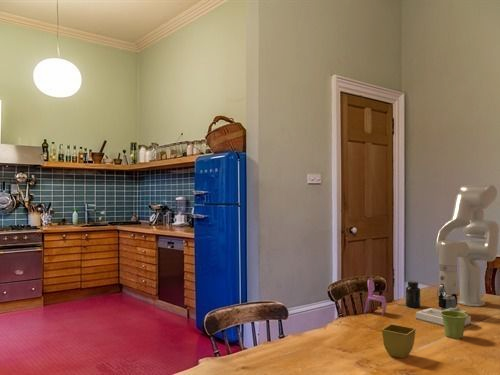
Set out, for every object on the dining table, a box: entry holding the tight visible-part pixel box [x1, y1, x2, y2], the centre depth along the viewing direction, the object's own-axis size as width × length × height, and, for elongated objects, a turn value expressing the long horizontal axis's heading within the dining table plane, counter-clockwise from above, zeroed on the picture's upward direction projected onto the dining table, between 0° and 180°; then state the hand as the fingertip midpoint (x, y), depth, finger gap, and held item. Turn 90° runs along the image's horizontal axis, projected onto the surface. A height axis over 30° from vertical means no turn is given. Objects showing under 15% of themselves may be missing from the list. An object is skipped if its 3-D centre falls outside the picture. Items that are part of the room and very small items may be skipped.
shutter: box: [442, 306, 468, 318], centre depth 181 cm, size 7×7×4 cm
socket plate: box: [415, 307, 472, 327], centre depth 185 cm, size 12×18×4 cm, turn 36°
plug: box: [440, 294, 457, 310], centre depth 197 cm, size 4×5×8 cm
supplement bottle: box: [405, 280, 421, 309], centre depth 210 cm, size 7×7×12 cm
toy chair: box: [363, 279, 387, 316], centre depth 199 cm, size 8×9×15 cm
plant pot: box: [441, 311, 468, 340], centre depth 166 cm, size 9×9×9 cm
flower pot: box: [381, 323, 416, 359], centre depth 146 cm, size 9×9×9 cm
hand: (448, 306), depth 197 cm, fingers open, 9 cm apart
